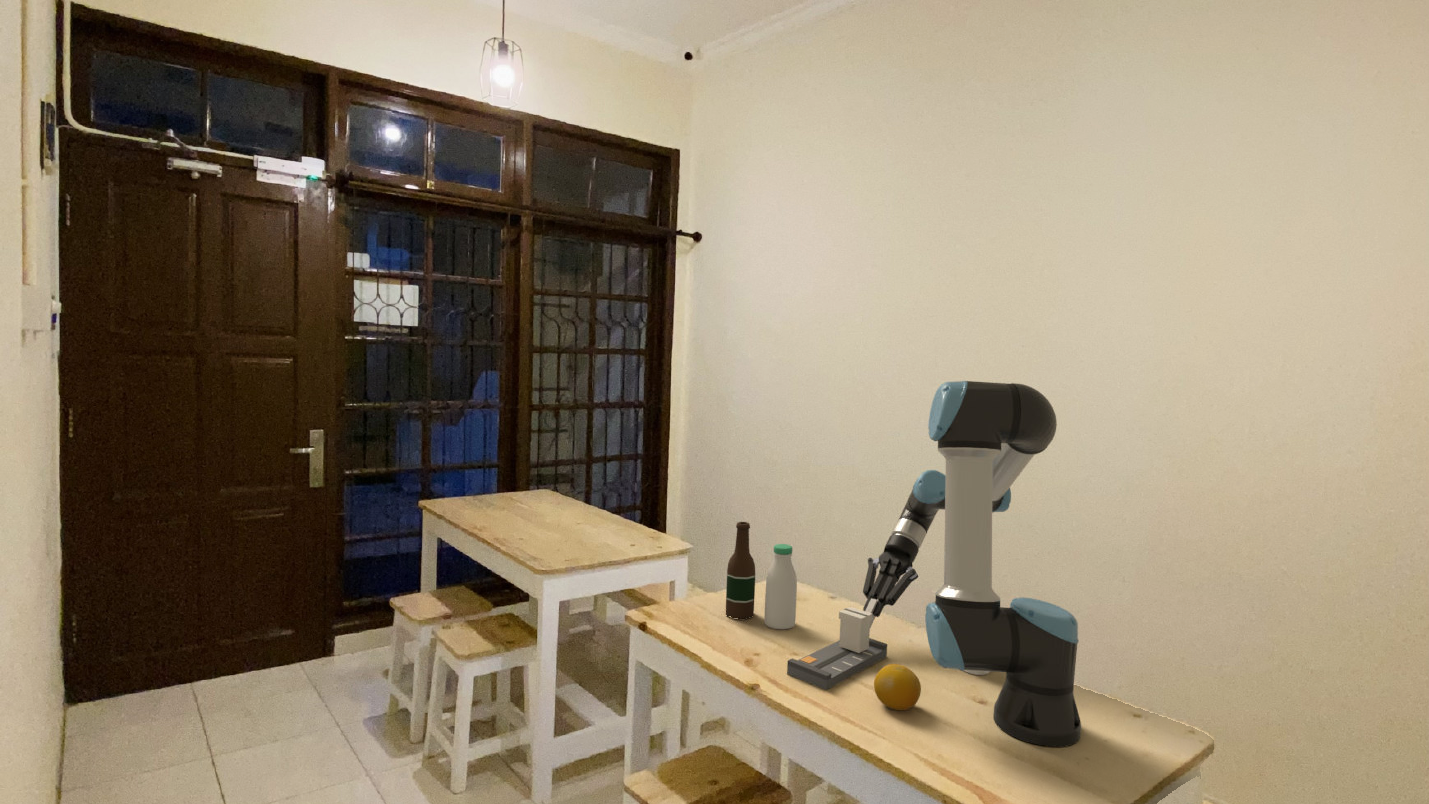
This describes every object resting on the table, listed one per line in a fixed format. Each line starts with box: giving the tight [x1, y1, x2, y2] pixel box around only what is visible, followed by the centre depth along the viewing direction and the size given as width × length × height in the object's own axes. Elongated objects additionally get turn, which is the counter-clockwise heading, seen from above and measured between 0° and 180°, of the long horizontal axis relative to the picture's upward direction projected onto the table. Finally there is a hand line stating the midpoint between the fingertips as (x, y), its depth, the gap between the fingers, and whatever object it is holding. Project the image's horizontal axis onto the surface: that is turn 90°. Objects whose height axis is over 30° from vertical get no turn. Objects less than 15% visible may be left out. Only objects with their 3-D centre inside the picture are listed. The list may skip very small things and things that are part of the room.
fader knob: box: [838, 606, 872, 653], centre depth 171 cm, size 5×6×8 cm
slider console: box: [786, 637, 888, 691], centre depth 167 cm, size 24×10×3 cm, turn 137°
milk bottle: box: [763, 543, 798, 630], centre depth 189 cm, size 8×8×20 cm
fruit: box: [873, 663, 922, 711], centre depth 149 cm, size 9×8×8 cm
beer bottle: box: [725, 521, 756, 620], centre depth 194 cm, size 8×8×24 cm
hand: (864, 626), depth 174 cm, fingers closed
